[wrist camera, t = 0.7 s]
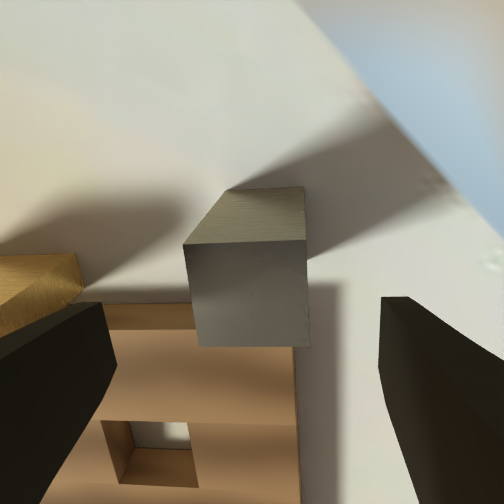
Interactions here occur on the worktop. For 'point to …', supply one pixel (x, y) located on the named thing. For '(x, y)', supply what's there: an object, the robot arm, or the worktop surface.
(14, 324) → the block
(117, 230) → the worktop surface
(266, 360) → the plate
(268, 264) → the square bit
